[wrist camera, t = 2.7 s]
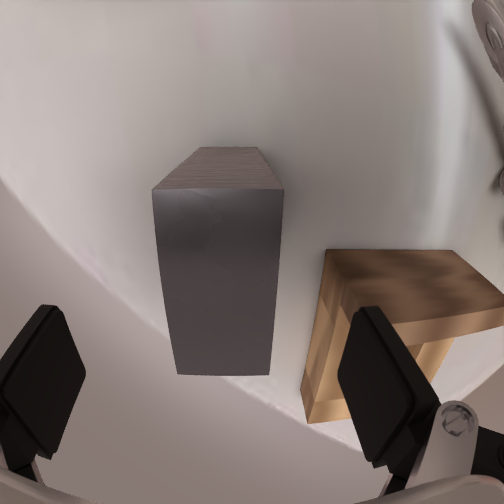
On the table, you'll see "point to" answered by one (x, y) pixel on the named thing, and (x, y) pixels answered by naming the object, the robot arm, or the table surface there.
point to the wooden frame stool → (393, 313)
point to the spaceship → (491, 41)
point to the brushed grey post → (220, 260)
